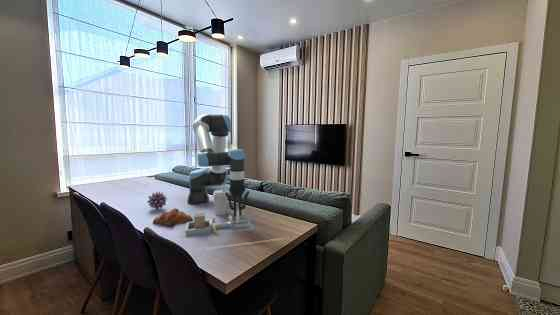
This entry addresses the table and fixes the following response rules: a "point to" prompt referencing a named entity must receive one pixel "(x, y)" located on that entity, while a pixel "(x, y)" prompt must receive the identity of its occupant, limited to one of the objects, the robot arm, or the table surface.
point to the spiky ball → (157, 200)
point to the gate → (222, 224)
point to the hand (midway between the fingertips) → (237, 221)
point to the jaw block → (199, 220)
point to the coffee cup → (220, 202)
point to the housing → (237, 227)
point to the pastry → (172, 218)
